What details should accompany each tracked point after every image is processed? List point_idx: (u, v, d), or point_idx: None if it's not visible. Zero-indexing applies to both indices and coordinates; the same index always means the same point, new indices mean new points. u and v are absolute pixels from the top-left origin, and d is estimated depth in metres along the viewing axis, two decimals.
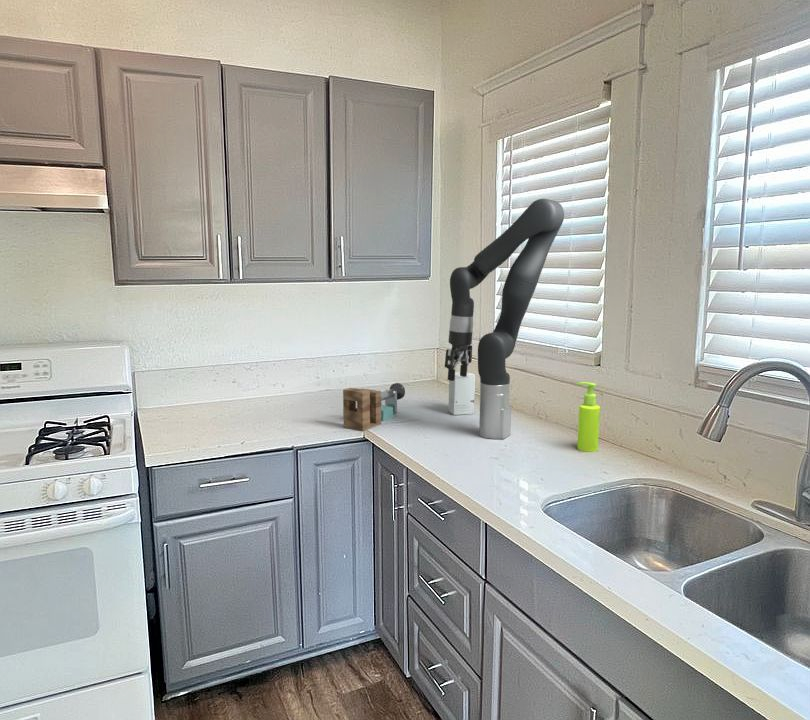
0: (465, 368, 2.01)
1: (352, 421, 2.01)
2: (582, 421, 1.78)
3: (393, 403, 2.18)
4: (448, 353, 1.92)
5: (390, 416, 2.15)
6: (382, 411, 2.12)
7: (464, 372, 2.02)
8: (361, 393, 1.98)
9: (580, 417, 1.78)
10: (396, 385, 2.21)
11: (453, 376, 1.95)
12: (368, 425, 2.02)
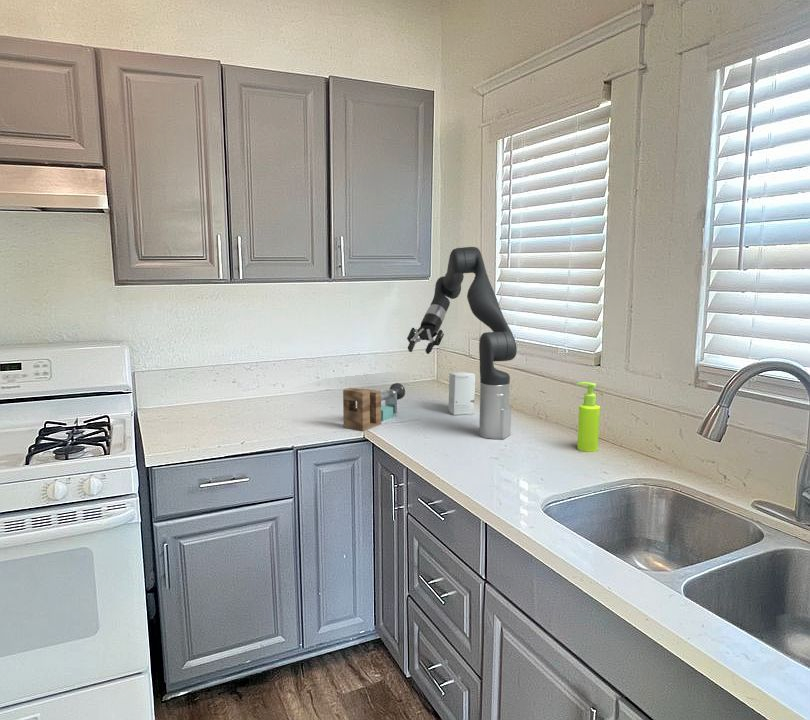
0: None
1: (352, 421, 2.01)
2: (582, 421, 1.78)
3: (393, 403, 2.18)
4: None
5: (390, 416, 2.15)
6: (382, 411, 2.12)
7: None
8: (361, 393, 1.98)
9: (580, 417, 1.78)
10: (396, 385, 2.21)
11: (409, 346, 2.35)
12: (368, 425, 2.02)
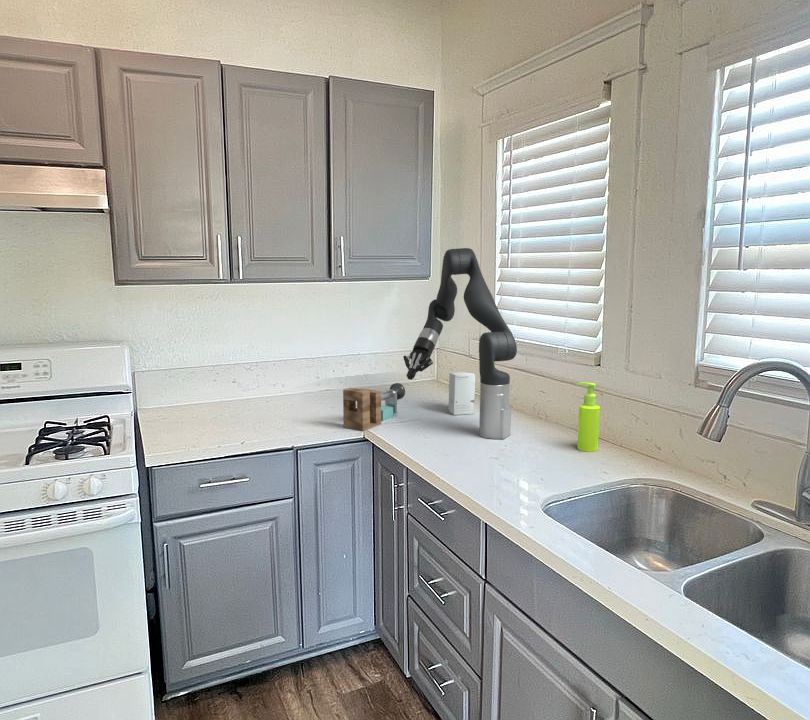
0: None
1: (352, 421, 2.01)
2: (582, 421, 1.78)
3: (393, 403, 2.18)
4: None
5: (390, 416, 2.15)
6: (382, 411, 2.12)
7: None
8: (361, 393, 1.98)
9: (580, 417, 1.78)
10: (396, 385, 2.21)
11: (408, 373, 2.29)
12: (368, 425, 2.02)
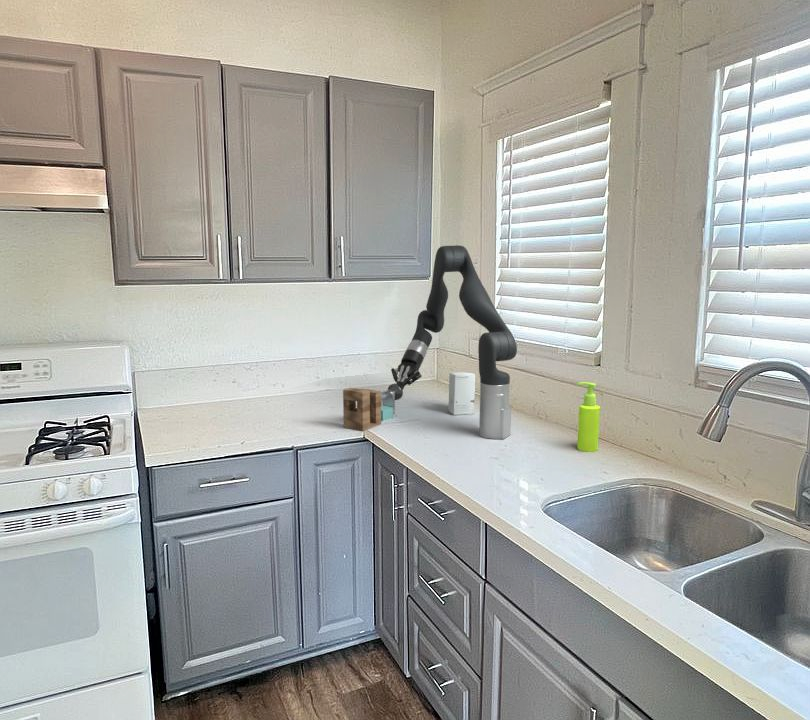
0: None
1: (352, 421, 2.01)
2: (582, 421, 1.78)
3: (391, 404, 2.17)
4: None
5: (390, 416, 2.15)
6: (381, 411, 2.12)
7: None
8: (361, 393, 1.98)
9: (580, 417, 1.78)
10: (394, 386, 2.20)
11: None
12: (368, 425, 2.02)
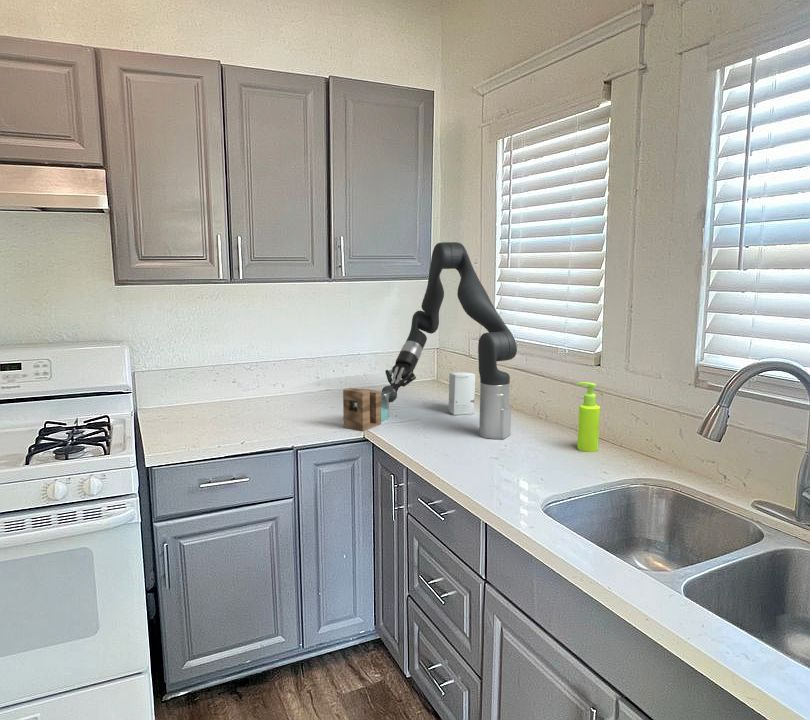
0: None
1: (352, 421, 2.01)
2: (582, 421, 1.78)
3: (385, 406, 2.14)
4: None
5: (385, 418, 2.13)
6: None
7: None
8: (361, 393, 1.98)
9: (580, 417, 1.78)
10: (388, 388, 2.17)
11: None
12: (368, 425, 2.02)
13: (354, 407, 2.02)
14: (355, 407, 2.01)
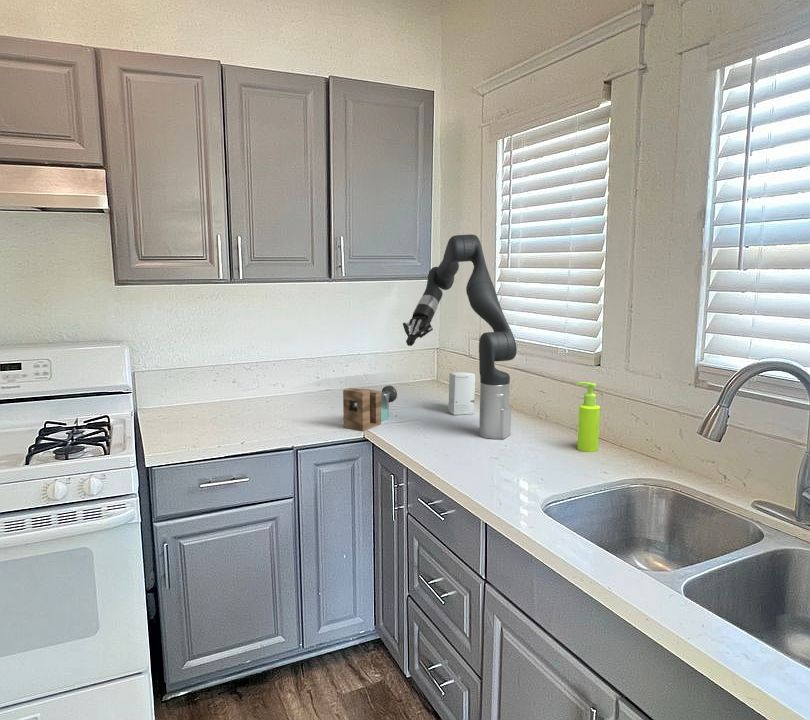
0: None
1: (352, 421, 2.01)
2: (582, 421, 1.78)
3: (385, 406, 2.14)
4: None
5: (385, 418, 2.13)
6: None
7: None
8: (361, 393, 1.98)
9: (580, 417, 1.78)
10: (388, 388, 2.17)
11: (407, 339, 2.27)
12: (368, 425, 2.02)
13: (354, 407, 2.02)
14: (355, 407, 2.01)
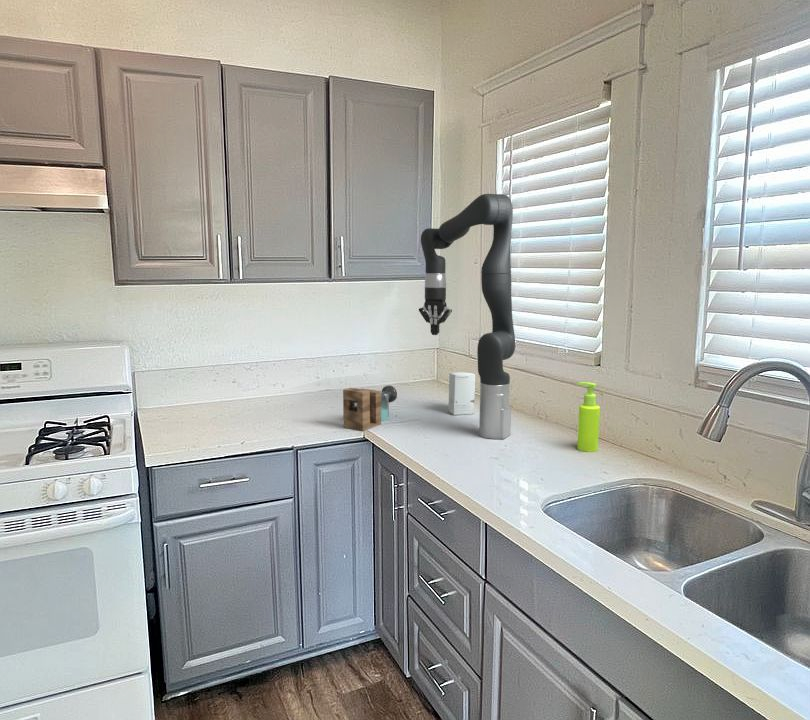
0: None
1: (352, 421, 2.01)
2: (582, 421, 1.78)
3: (385, 406, 2.14)
4: None
5: (385, 418, 2.13)
6: None
7: None
8: (361, 393, 1.98)
9: (580, 417, 1.78)
10: (388, 388, 2.17)
11: (432, 330, 2.17)
12: (368, 425, 2.02)
13: (354, 407, 2.02)
14: (355, 407, 2.01)
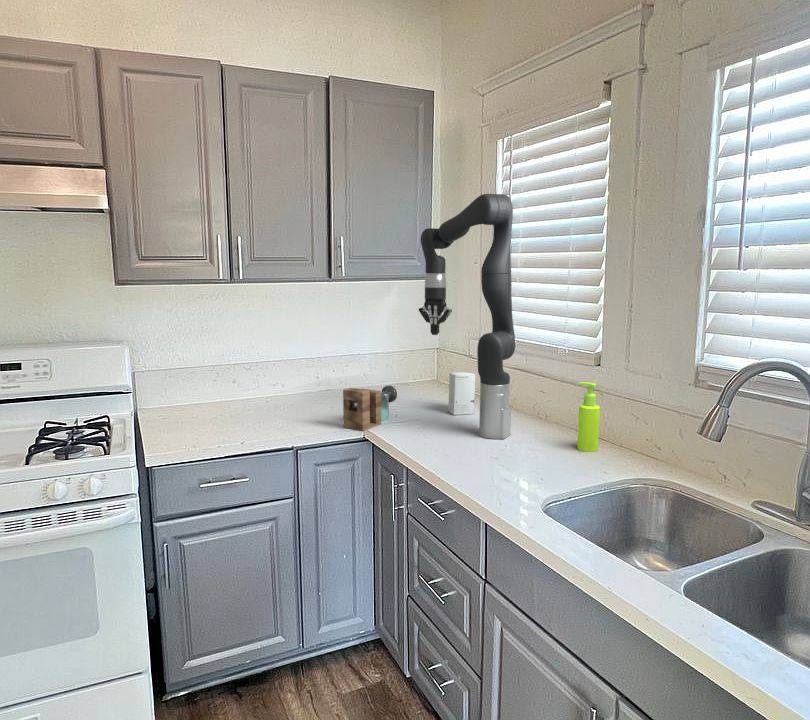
0: None
1: (352, 421, 2.01)
2: (582, 421, 1.78)
3: (385, 406, 2.14)
4: None
5: (385, 418, 2.13)
6: None
7: None
8: (361, 393, 1.98)
9: (580, 417, 1.78)
10: (388, 388, 2.17)
11: (431, 330, 2.17)
12: (368, 425, 2.02)
13: (354, 407, 2.02)
14: (355, 407, 2.01)
